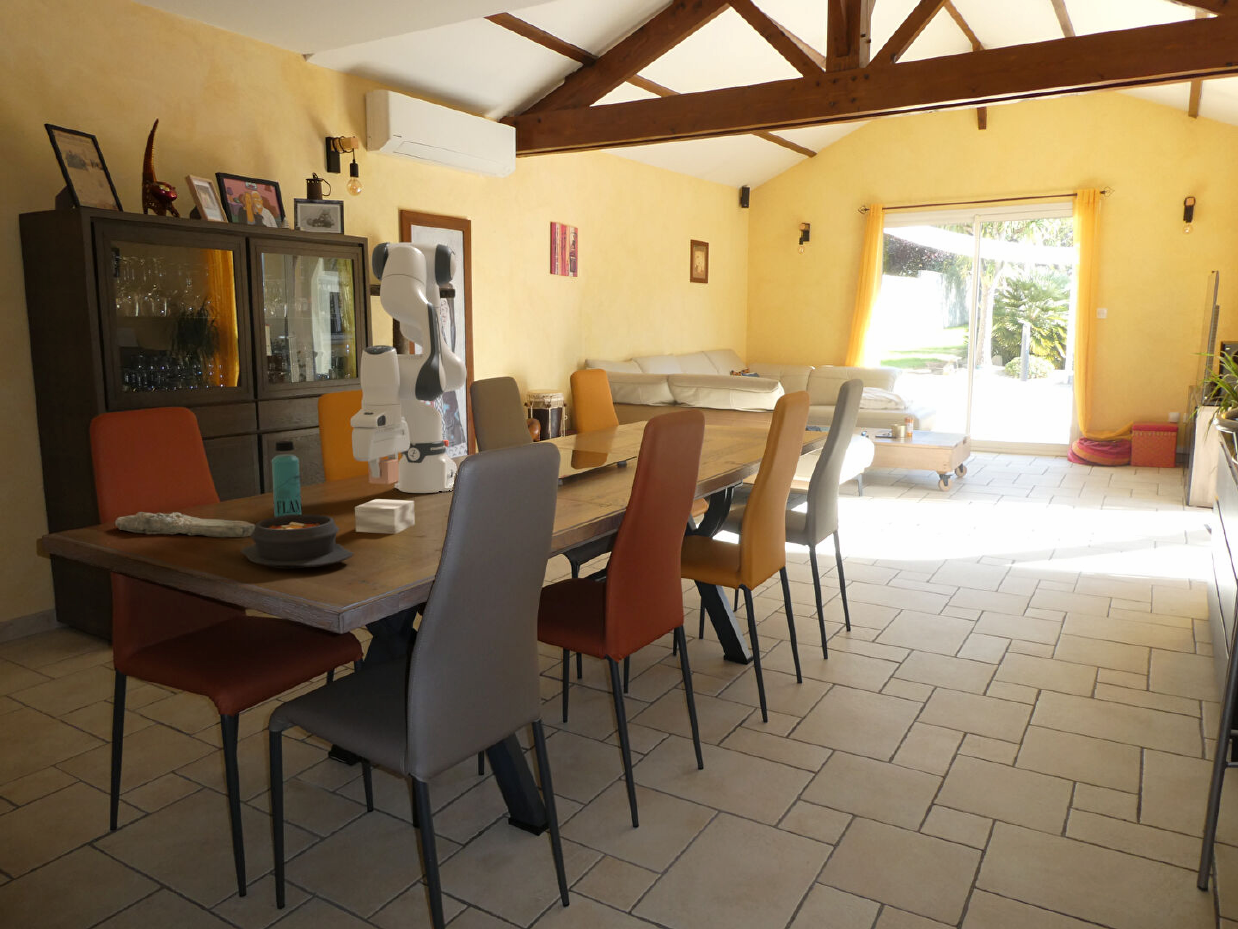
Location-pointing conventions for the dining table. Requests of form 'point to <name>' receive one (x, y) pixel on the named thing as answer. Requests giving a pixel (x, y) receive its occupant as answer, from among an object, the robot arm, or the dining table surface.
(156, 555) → the dining table surface
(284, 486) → the beverage bottle
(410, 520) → the base block
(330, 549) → the casserole
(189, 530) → the long grey stone
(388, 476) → the terracotta block
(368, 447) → the robot arm
